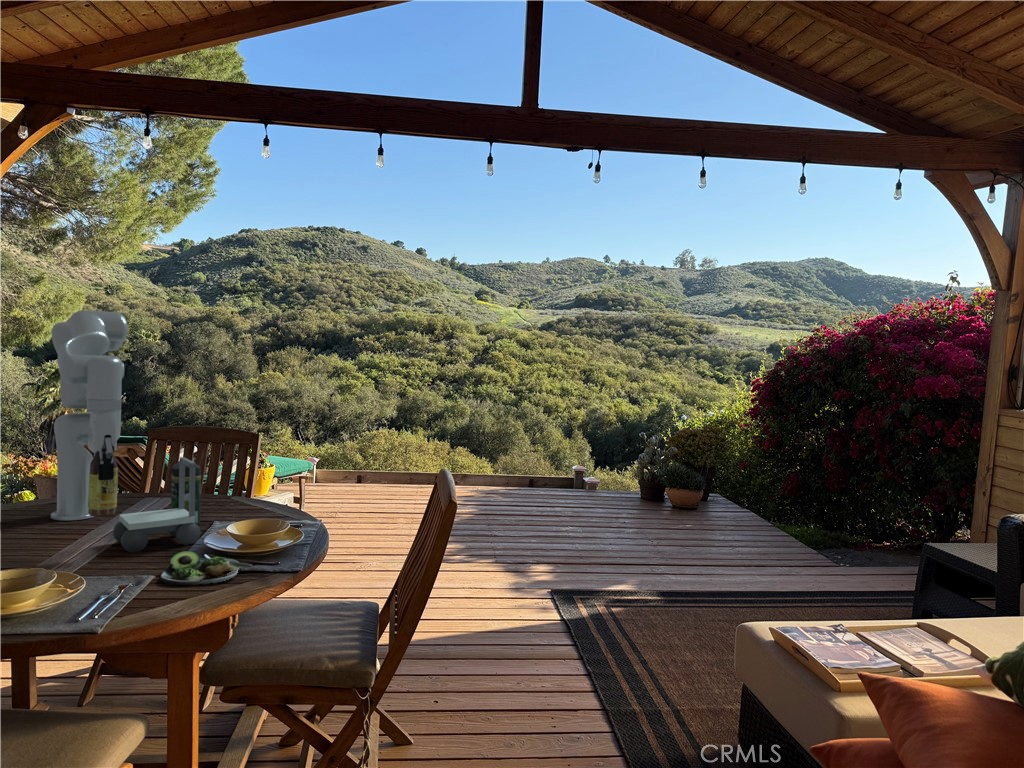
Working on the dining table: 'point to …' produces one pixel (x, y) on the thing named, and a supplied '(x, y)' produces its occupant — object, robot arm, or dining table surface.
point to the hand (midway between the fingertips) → (103, 476)
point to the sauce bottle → (102, 490)
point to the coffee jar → (176, 489)
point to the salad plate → (198, 569)
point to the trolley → (162, 518)
